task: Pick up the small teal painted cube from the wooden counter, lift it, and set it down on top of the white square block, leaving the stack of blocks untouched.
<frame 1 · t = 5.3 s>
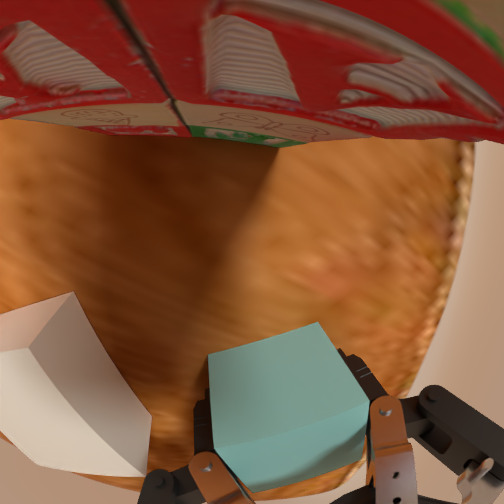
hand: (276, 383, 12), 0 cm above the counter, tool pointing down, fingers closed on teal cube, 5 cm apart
white square block: (57, 373, 11), on the counter
teal cube: (274, 375, 12), on the counter, touching gripper
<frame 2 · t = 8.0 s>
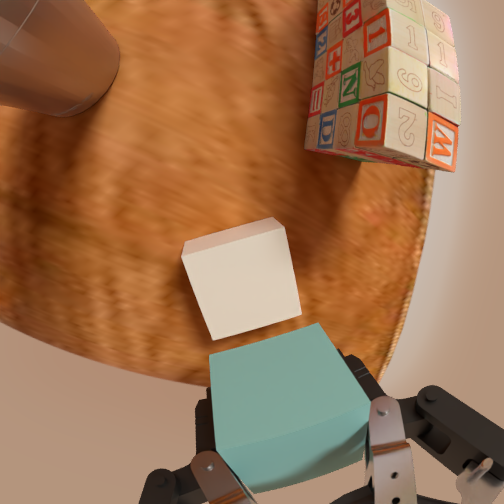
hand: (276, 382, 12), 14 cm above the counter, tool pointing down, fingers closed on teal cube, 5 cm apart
white square block: (240, 269, 25), on the counter
teal cube: (275, 377, 12), point 14 cm above the counter, touching gripper
stack of blocks: (341, 57, 21), on the counter
when the fingers open (5 cm above the counter, at t = 10.4 s): teal cube stays where it is, resting on white square block.
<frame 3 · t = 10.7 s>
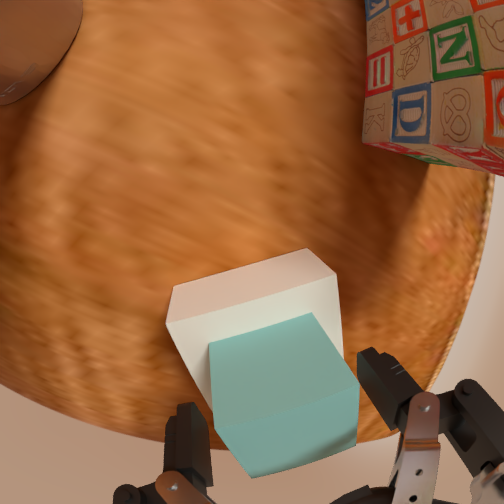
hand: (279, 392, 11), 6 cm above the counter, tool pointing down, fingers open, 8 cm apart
white square block: (256, 323, 17), on the counter
teal cube: (271, 365, 13), point 4 cm above the counter, touching white square block
stack of blocks: (396, 24, 12), on the counter
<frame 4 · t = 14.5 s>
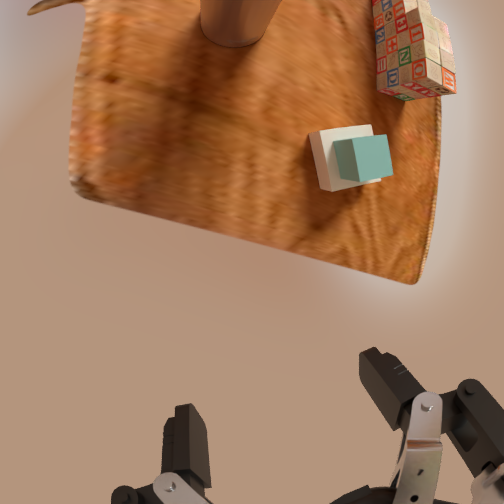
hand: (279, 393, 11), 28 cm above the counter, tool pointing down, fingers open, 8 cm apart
white square block: (339, 156, 36), on the counter
teal cube: (353, 156, 33), point 4 cm above the counter, touching white square block
stack of blocks: (388, 44, 32), on the counter
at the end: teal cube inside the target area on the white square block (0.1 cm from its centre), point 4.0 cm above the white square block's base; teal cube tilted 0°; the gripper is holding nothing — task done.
